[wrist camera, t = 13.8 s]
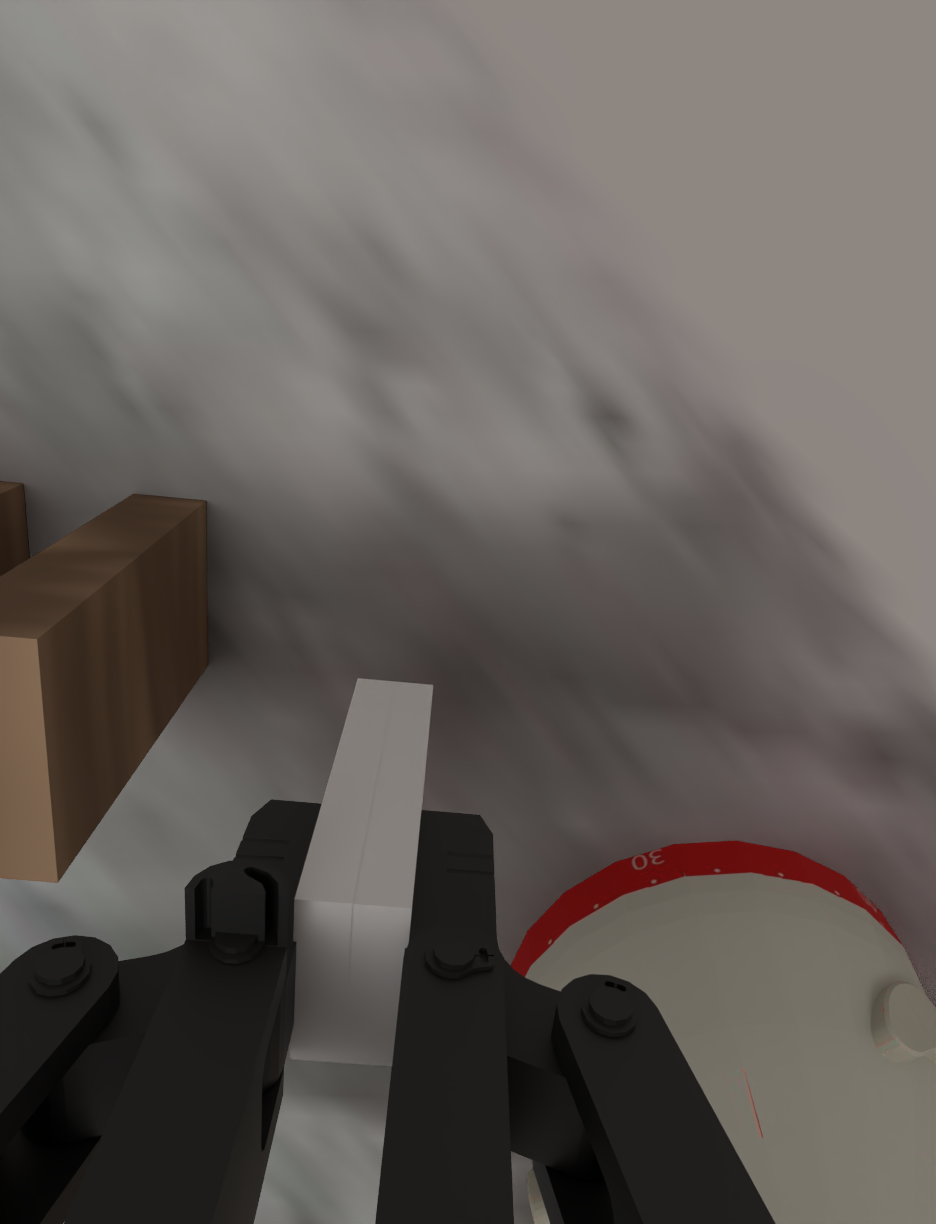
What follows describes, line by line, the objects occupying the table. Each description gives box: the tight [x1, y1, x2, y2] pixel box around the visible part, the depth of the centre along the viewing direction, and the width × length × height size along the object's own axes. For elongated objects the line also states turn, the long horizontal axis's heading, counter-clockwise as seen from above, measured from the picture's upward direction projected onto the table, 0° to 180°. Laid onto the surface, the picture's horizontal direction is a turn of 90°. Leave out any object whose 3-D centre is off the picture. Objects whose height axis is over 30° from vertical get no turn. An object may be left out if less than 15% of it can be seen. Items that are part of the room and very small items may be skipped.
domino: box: [0, 494, 208, 883], centre depth 20 cm, size 2×5×10 cm, turn 175°
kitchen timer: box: [511, 841, 936, 1224], centre depth 23 cm, size 14×14×15 cm
